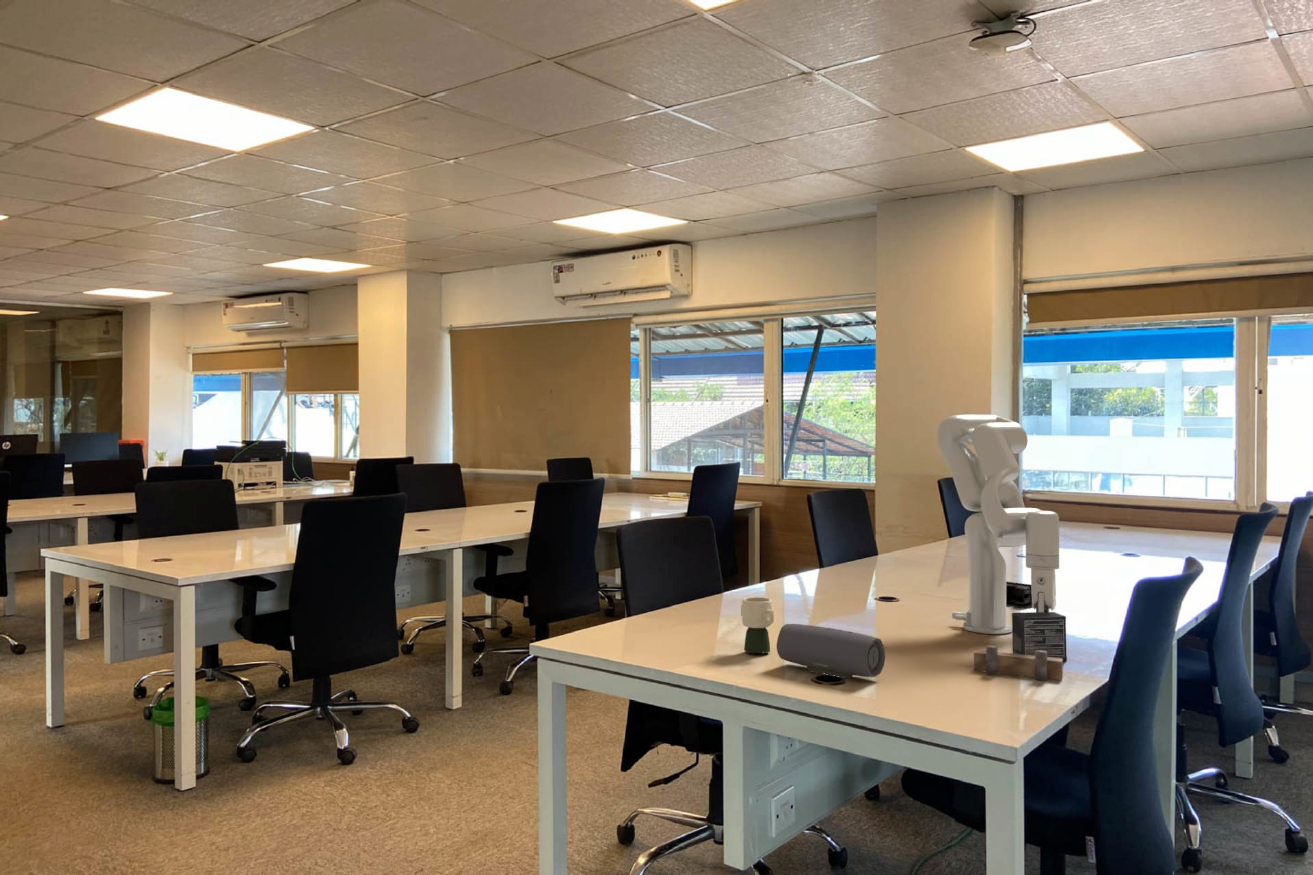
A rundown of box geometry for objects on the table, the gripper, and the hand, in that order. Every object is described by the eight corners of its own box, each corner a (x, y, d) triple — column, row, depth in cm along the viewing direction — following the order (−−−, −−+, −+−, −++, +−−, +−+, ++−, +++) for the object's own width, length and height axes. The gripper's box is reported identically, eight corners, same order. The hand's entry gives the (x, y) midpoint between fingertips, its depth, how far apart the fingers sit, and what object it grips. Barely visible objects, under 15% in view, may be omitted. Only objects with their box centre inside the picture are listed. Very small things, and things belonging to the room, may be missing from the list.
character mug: (783, 655, 217) (783, 600, 217) (762, 659, 213) (762, 604, 213) (752, 646, 226) (752, 594, 226) (731, 650, 221) (730, 597, 221)
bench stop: (972, 672, 200) (972, 645, 200) (975, 667, 205) (975, 640, 205) (1061, 683, 192) (1061, 654, 192) (1062, 676, 197) (1062, 649, 197)
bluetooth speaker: (886, 678, 197) (886, 632, 197) (865, 687, 190) (865, 639, 190) (797, 660, 212) (797, 618, 212) (775, 668, 205) (775, 624, 205)
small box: (1054, 654, 217) (1054, 610, 217) (1067, 661, 210) (1067, 616, 210) (1011, 655, 216) (1010, 611, 216) (1022, 662, 210) (1022, 616, 210)
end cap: (1037, 605, 278) (1037, 583, 278) (1026, 608, 273) (1026, 586, 273) (1006, 601, 285) (1006, 579, 285) (995, 604, 281) (995, 582, 281)
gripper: (1057, 566, 213) (1057, 644, 213) (1061, 558, 227) (1061, 632, 226) (1023, 564, 217) (1023, 641, 217) (1028, 557, 230) (1029, 629, 230)
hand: (1042, 636), depth 222 cm, fingers closed
